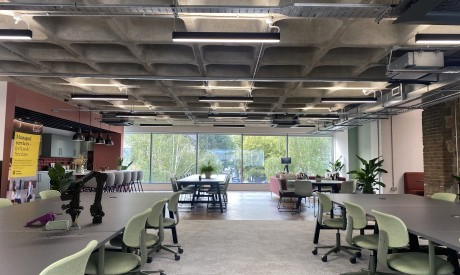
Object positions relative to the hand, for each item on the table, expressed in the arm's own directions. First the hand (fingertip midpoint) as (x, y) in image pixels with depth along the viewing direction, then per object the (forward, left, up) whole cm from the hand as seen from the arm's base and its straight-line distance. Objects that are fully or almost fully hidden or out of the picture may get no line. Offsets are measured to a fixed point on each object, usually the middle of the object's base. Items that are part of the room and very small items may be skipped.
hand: (74, 222), depth 223 cm
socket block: (0, 0, -6) cm, 6 cm away
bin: (+11, -7, -6) cm, 14 cm away
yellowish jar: (0, 0, -2) cm, 2 cm away
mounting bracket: (+25, -30, -6) cm, 39 cm away
